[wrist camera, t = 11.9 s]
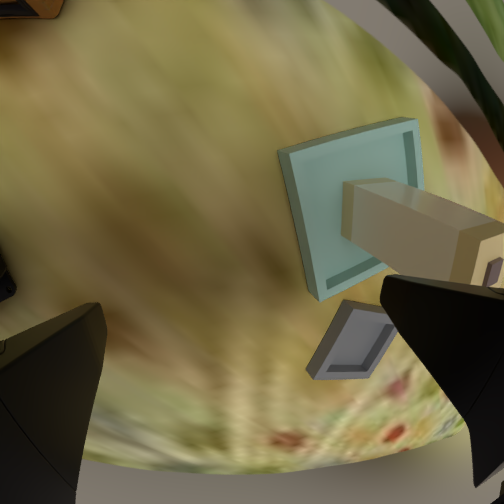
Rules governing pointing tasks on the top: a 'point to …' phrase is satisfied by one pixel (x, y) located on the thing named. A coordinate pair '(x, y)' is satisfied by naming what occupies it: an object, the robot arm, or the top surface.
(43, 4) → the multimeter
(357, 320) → the small gray square tray
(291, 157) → the parts tray
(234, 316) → the top surface
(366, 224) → the block
